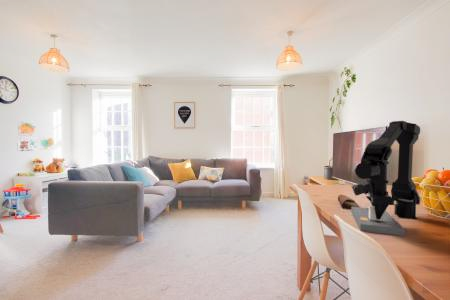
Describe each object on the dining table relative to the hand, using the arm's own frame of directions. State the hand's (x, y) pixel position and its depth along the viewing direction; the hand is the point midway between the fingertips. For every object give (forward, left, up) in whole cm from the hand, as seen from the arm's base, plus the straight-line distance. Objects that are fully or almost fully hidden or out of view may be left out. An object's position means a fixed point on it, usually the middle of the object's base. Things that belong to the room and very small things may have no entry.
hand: (377, 217), depth 89 cm
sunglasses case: (+6, -32, -4) cm, 33 cm away
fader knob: (0, 0, -1) cm, 1 cm away
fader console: (0, -6, -4) cm, 7 cm away
